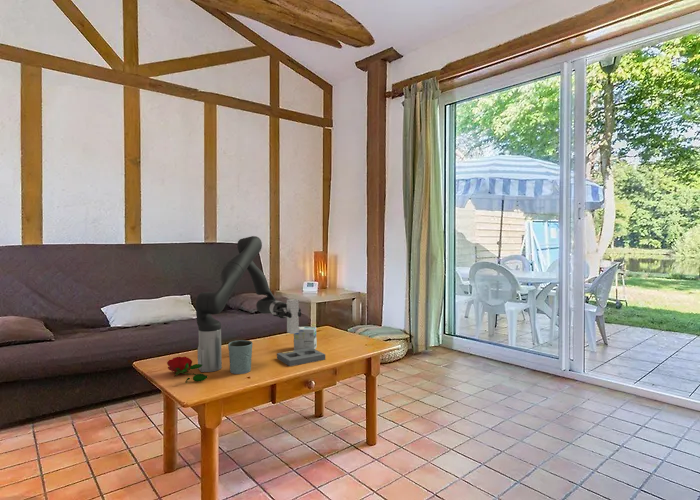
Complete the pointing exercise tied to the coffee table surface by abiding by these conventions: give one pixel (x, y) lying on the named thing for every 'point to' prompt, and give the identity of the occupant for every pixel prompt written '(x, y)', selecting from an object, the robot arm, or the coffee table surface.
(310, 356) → the socket board
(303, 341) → the light bulb box
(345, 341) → the coffee table surface
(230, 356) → the green embossed pot
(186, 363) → the flower
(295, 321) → the square bit
